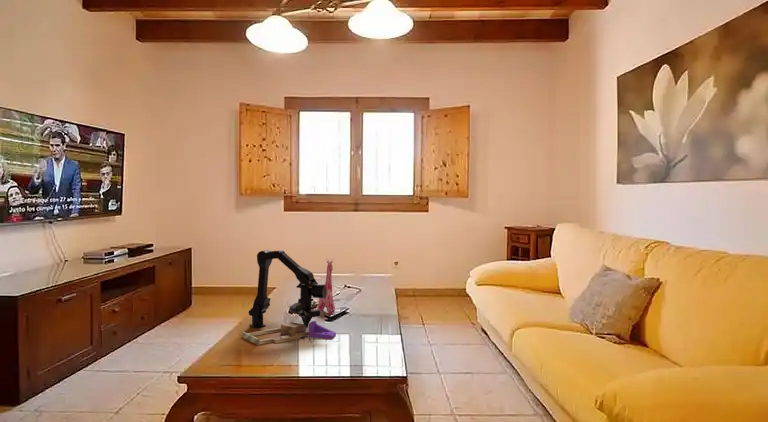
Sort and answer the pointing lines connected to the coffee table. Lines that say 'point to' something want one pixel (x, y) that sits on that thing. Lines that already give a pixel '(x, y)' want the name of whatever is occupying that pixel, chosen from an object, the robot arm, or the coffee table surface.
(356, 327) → the coffee table surface
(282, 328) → the block
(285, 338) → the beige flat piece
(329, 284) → the toy
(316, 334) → the bracket
